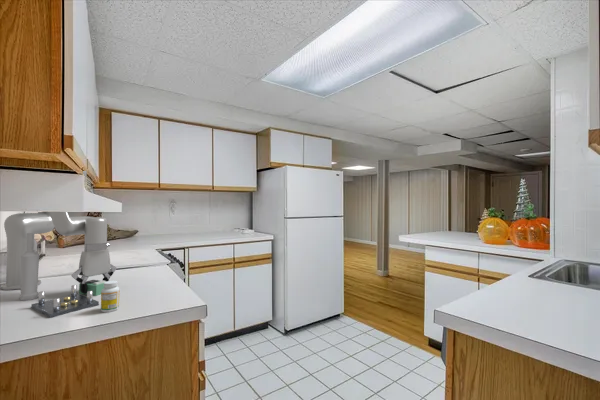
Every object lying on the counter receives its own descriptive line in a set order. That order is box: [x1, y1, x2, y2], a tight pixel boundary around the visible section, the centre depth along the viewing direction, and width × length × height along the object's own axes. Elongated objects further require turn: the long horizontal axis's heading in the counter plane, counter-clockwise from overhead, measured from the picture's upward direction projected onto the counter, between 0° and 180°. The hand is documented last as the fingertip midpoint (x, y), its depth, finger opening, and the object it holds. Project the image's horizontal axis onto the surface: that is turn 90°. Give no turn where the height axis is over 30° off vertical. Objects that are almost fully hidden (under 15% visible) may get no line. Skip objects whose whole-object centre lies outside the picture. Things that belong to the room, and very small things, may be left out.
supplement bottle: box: [100, 280, 120, 313], centre depth 100 cm, size 5×5×10 cm
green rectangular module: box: [78, 279, 107, 297], centre depth 118 cm, size 9×6×5 cm, turn 75°
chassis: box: [30, 284, 100, 319], centre depth 102 cm, size 16×14×5 cm
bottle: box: [19, 233, 40, 301], centre depth 110 cm, size 5×5×25 cm
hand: (94, 290), depth 118 cm, fingers closed on green rectangular module, 7 cm apart
